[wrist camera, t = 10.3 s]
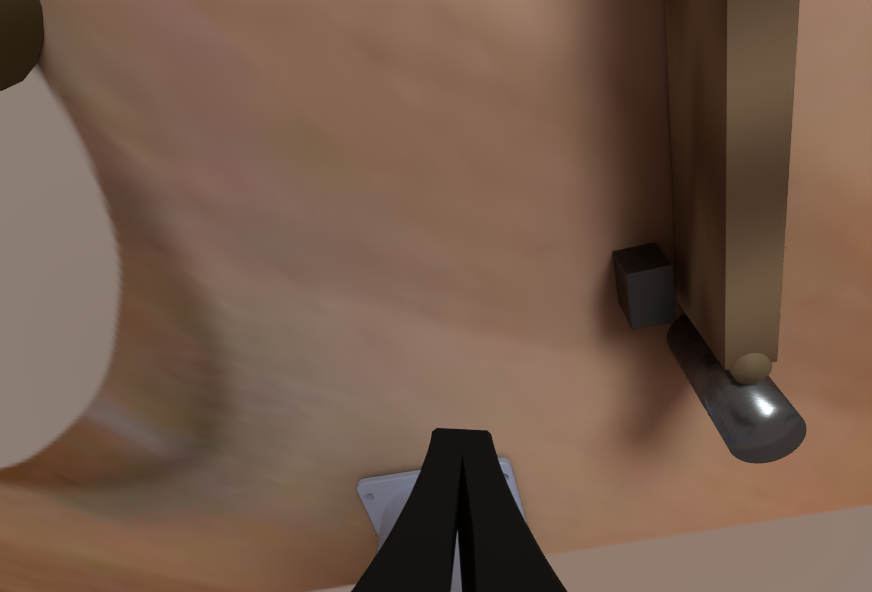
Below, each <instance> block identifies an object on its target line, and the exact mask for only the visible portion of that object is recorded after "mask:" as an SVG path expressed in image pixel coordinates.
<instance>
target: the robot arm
mask: <svg viewBox="0 0 872 592" xmlns="http://www.w3.org/2000/svg"><path fill="white" fill-rule="evenodd" d="M504 474H505V475H504ZM357 492H358V494H359V496H360V498H361V501H362V503H363V505H364V507H365V509H366V511H367V513H368V515H369V518H370V520H371V522H372V524H373V526H374V528H375V530H376V532H377V535H378V537H379V539H378V545H377V551H376V556H375V558H374V559H373V561H372V562H371V564H370V565H369V567H368V568H367V570H366V571H365V573H364V574H363V575H362V577H361V578H360V580H359V581H358V583H357V584H356V586H355V587H354V588H353V590H352V591H351V592H567V590H566V589H565V587H564V586H563V584H562V583H561V581H560V580H559V578H558V577H557V575H556V574H555V572H554V571H553V569H552V567H551V566H550V564H549V563H548V561H547V559H546V558H545V556H544V554H543V553H542V551H541V549H540V548H539V546H538V544H537V542H536V540H535V539H534V537H533V535H532V533H531V531H530V529H529V527H528V525H527V521H526V518H525V514H524V510H523V506H522V503H521V499H520V495H519V492H518V488H517V484H516V480H515V477H514V473H513V469H512V465H511V463H510V461H509V460H508V459H506V458H498V457H497V454H496V451H495V448H494V444H493V440H492V436H491V434H490V433H489V432H488V431H486V430H466V429H446V428H436V429H435V430H434V431H432V436H431V441H430V445H429V448H428V452H427V455H426V458H425V460H424V463H423V466H422V468H421V470H416V471H409V472H403V473H396V474H390V475H383V476H377V477H370V478H364V479H361V480H360V481H359V482H358V484H357Z"/></svg>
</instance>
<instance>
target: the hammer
mask: <svg viewBox="0 0 872 592" xmlns="http://www.w3.org/2000/svg"><path fill="white" fill-rule="evenodd" d="M613 258H614V267H615V275H616V284H617V293H618V301H619V305H620V307H621V309H622V311H623V313H624V315H625V317H626V319H627V321H628V323H629V325H630V327H631V328H632V329H637V328H642V327H648V326H653V325H659V324H664V323H669V322H675V321H676V316H675V298H674V281H673V265H672V264H671V262H670V261H669V260H668V259H667V257H666V256H665V255H664V253H663V252H662V251H661V250H660V248H659V247H658V246H657V244H656V243H650V244H646V245H641V246H636V247H631V248H627V249H622V250H617V251H613ZM667 343H668V346H669V348H670V350H671V351H672V353H673V355H674V357H675V358H676V360H677V362H678V363H679V365H680V367H681V369H682V370H683V372H684V374H685V375H686V377H687V379H688V380H689V382H690V384H691V386H692V387H693V389H694V391H695V392H696V394H697V396H698V398H699V399H700V401H701V403H702V404H703V406H704V408H705V409H706V411H707V413H708V415H709V416H710V418H711V420H712V421H713V423H714V425H715V427H716V428H717V430H718V432H719V433H720V435H721V437H722V438H723V440H724V442H725V444H726V445H727V447H728V449H729V450H730V452H731V453H732V455H734V456H735V457H736V458H738V459H739V460H742V461H745V462H749V463H767V462H772V461H776V460H778V459H781V458H783V457H785V456H787V455H789V454H790V453H792V452H793V451H794V450H795V449H797V448H798V447H799V445H800V444H801V443H802V441H803V440H804V438H805V435H806V424H805V421H804V420H803V418H802V417H801V416H800V414H799V413H798V412H797V411H796V409H795V408H794V407H793V406H792V404H791V403H790V402H789V401H788V399H787V398H786V397H785V396H784V395H783V393H782V392H781V391H780V390H779V388H778V387H777V386H776V385H775V383H774V382H773V381H772V380H771V378H770V377H769V376H767V377H766V378H765V379H764V380H762V381H760V382H758V383H755V384H749V385H746V384H741V383H739V382H737V381H736V380H735V379H734V377H733V376H732V375H731V373H730V372H729V370H728V369H727V370H725V369H724V368H723V366H722V365H721V363H720V362H719V360H718V359H717V358H716V356H715V355H714V353H713V352H712V350H711V349H710V348H709V346H708V345H707V343H706V342H705V340H704V339H703V338H702V336H701V335H700V333H699V332H698V331H697V329H696V328H695V326H694V325H693V323H692V322H691V321H690V319H689V318H688V316H687V315H684V316H682V317H681V318H679V319H678V320H677V321H676V322H675V323H674V324H673V325H672V326H671V328H670V330H669V332H668V335H667Z"/></svg>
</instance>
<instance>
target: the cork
mask: <svg viewBox="0 0 872 592" xmlns="http://www.w3.org/2000/svg"><path fill="white" fill-rule="evenodd" d="M43 39H44V34H43V21H42V8H41V4H40V2H39V0H0V91H2V90H4V89H7V88H8V87H11V86H13V85H15V84H17V83H19V82H21V81H23V80H24V79H25V78H26V76H27V75H28V74H29V73H30V71H31V70H32V69H33V68H34V66H35V65H36V64H37V62H38V58H39V54H40V50H41V46H42V43H43Z"/></svg>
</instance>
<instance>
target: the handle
mask: <svg viewBox="0 0 872 592" xmlns="http://www.w3.org/2000/svg"><path fill="white" fill-rule="evenodd" d="M799 1H800V0H665V19H666V43H667V66H668V90H669V113H670V136H671V160H672V183H673V207H674V230H675V254H676V277H677V300H678V303H679V305H680V306H681V308H682V309H683V311H684V312H685V313H686V315H687V316H688V318H689V319H690V321H691V322H692V323H693V325H694V326H695V328H696V329H697V331H698V332H699V333H700V335H701V336H702V338H703V339H704V340H705V342H706V343H707V345H708V346H709V348H710V349H711V350H712V352H713V353H714V355H715V356H716V358H717V359H718V360H719V362H720V363H721V365H722V366H723V368H724V369H725V370H727V369H728V370H729V372H730V373H731V375H732V376H733V377H734V379H735V380H736V381H737V382H739V383H741V384H746V385H749V384H755V383H758V382H760V381H762V380H764V379H765V378H766V377H767V376H768V375H769V373H770V372H771V369H772V363H771V362H777V354H778V338H779V322H780V306H781V290H782V274H783V258H784V242H785V226H786V210H787V194H788V178H789V162H790V146H791V130H792V114H793V98H794V82H795V66H796V50H797V34H798V18H799Z"/></svg>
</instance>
